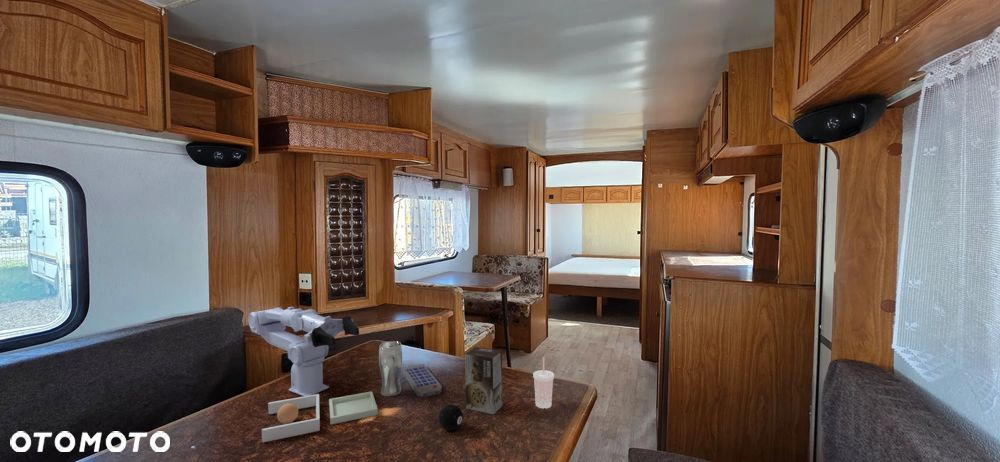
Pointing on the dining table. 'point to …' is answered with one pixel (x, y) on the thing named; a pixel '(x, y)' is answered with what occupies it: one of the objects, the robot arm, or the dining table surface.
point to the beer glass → (390, 367)
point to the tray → (352, 407)
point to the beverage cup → (543, 387)
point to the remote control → (422, 380)
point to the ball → (287, 413)
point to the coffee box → (483, 380)
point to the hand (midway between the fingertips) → (346, 336)
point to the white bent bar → (296, 427)
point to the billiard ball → (450, 417)
